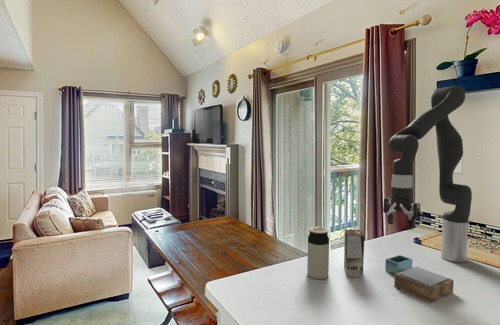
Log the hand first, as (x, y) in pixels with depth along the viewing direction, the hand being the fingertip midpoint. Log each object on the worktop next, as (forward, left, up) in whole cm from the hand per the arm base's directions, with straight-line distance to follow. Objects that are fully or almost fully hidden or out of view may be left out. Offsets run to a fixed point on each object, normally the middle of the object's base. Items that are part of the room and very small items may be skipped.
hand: (400, 226), depth 121 cm
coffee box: (+17, -8, -18) cm, 26 cm away
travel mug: (+31, -13, -18) cm, 38 cm away
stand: (+7, +14, -18) cm, 24 cm away
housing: (0, 0, -18) cm, 18 cm away
